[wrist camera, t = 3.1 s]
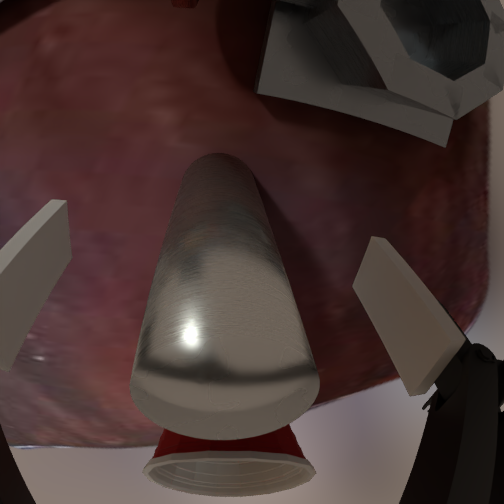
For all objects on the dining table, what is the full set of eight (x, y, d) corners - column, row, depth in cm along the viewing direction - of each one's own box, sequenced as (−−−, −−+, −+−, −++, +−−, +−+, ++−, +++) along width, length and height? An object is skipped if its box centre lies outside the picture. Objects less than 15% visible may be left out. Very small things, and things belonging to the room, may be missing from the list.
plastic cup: (137, 362, 26) (119, 487, 16) (199, 280, 22) (194, 442, 12) (237, 400, 30) (248, 509, 20) (311, 337, 26) (351, 466, 16)
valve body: (214, -91, 9) (216, -154, 3) (456, -8, 12) (528, -16, 6) (173, 82, 15) (146, 83, 9) (428, 140, 18) (499, 174, 12)
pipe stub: (185, 148, 17) (120, 324, 5) (261, 158, 18) (348, 339, 6) (178, 218, 19) (139, 433, 7) (248, 226, 20) (290, 439, 8)
